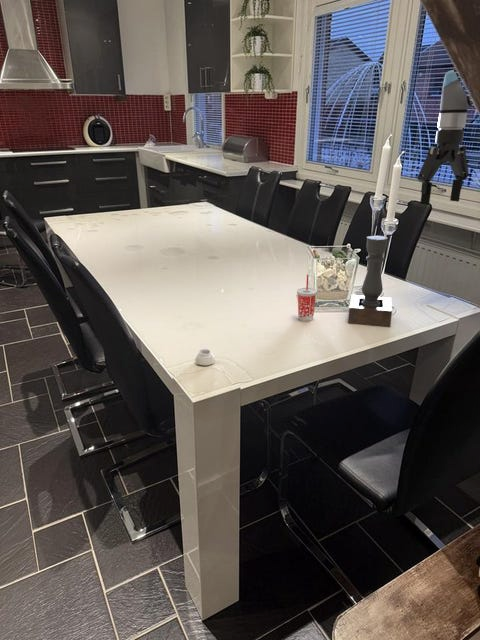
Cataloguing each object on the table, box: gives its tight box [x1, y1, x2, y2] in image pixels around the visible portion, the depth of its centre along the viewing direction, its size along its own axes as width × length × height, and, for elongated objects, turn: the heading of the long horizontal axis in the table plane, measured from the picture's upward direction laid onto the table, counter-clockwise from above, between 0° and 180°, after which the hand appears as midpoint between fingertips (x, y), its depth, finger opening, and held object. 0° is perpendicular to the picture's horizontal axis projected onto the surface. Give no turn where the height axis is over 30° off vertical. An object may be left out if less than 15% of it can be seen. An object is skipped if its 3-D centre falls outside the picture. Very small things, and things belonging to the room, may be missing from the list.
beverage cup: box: [296, 274, 318, 322], centre depth 142 cm, size 6×6×14 cm
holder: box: [347, 294, 393, 328], centre depth 143 cm, size 12×12×5 cm
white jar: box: [194, 348, 216, 366], centre depth 117 cm, size 5×3×5 cm
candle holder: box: [361, 235, 388, 307], centre depth 140 cm, size 6×6×25 cm
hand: (439, 202), depth 145 cm, fingers open, 13 cm apart
